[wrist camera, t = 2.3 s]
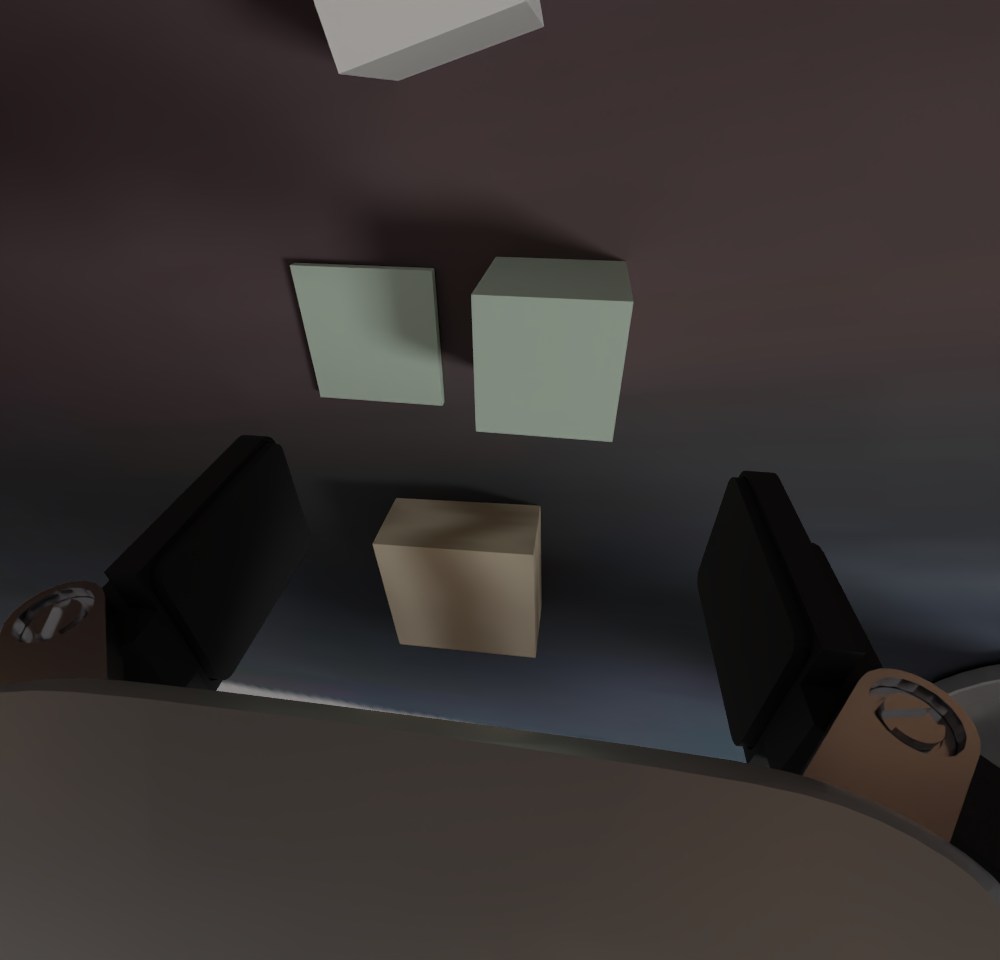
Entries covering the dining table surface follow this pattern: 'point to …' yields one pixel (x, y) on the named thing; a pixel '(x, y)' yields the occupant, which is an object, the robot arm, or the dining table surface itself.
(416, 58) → the offwhite cube
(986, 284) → the dining table surface
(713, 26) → the dining table surface
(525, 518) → the tan square block
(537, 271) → the sage cube
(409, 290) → the sage swatch
